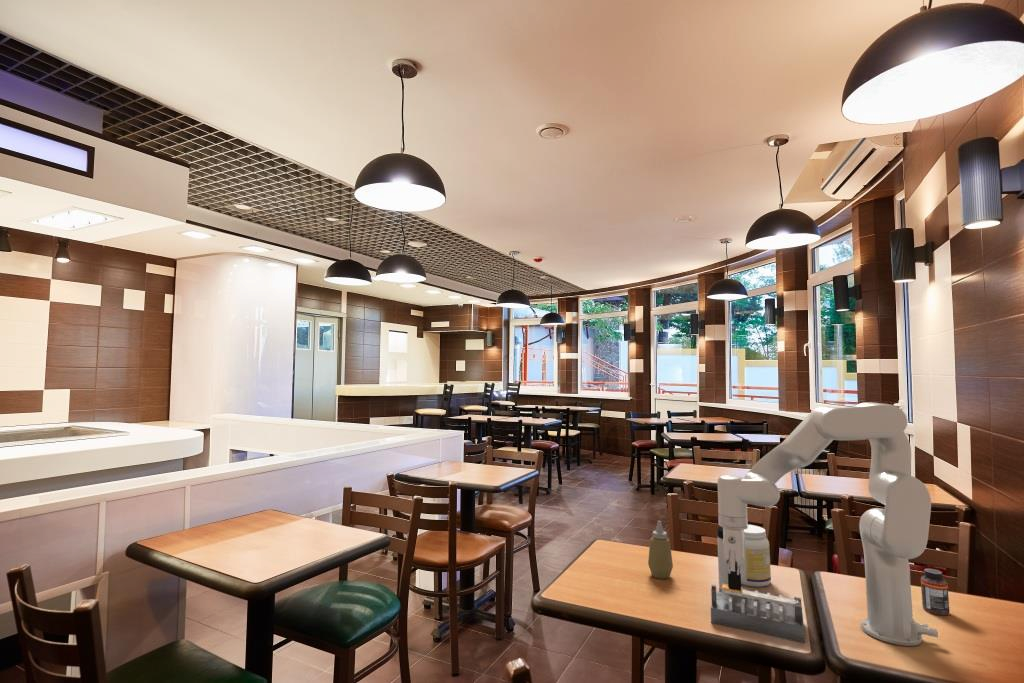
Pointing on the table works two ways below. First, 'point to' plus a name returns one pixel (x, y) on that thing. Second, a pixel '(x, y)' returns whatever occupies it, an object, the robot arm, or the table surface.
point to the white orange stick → (760, 596)
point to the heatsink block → (757, 615)
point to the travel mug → (721, 560)
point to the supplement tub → (756, 558)
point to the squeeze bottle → (660, 554)
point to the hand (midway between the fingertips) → (734, 587)
